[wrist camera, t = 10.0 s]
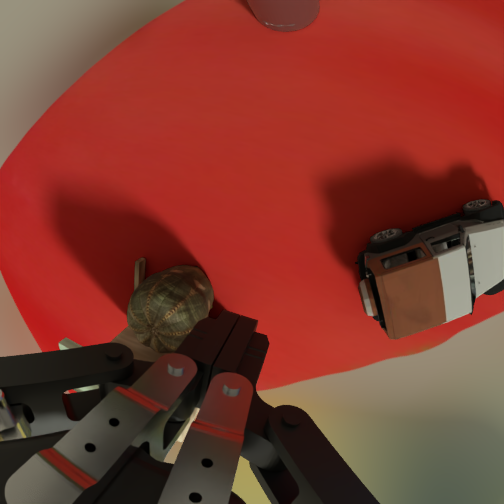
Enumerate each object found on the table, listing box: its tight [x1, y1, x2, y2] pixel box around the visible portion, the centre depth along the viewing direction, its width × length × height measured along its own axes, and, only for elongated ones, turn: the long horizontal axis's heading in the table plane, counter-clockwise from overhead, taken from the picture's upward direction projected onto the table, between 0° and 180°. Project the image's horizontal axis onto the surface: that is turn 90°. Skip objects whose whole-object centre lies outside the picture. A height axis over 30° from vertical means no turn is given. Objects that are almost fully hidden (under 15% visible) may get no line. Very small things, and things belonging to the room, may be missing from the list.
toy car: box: [355, 199, 504, 339], centre depth 33 cm, size 13×24×10 cm, turn 112°
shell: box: [127, 265, 214, 353], centre depth 42 cm, size 11×11×12 cm
